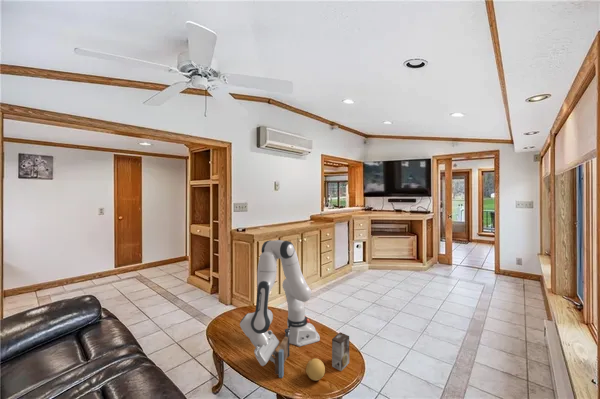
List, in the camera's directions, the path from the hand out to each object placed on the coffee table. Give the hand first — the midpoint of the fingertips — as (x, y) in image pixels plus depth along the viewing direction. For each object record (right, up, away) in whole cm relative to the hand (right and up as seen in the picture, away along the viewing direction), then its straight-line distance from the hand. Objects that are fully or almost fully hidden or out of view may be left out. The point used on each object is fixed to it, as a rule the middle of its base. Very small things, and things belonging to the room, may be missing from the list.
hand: (277, 361), depth 150 cm
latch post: (+3, -5, -5) cm, 8 cm away
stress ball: (+21, -5, -7) cm, 22 cm away
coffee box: (+35, -5, +4) cm, 36 cm away
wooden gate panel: (+2, -4, +3) cm, 5 cm away
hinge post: (+5, -4, +13) cm, 14 cm away
